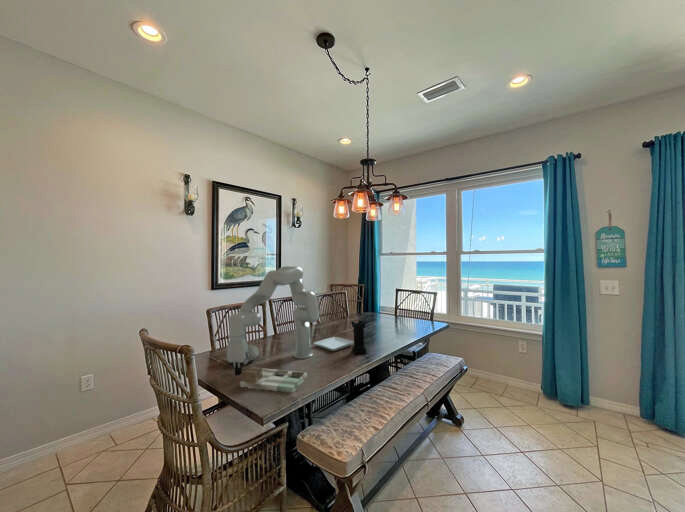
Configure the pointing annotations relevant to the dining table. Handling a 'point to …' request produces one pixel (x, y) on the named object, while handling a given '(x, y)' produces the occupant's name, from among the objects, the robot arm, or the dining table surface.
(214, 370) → the dining table surface
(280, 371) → the trap box
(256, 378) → the walnut block
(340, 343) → the salad plate
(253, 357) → the grey stone
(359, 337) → the chess piece
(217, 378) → the dining table surface
